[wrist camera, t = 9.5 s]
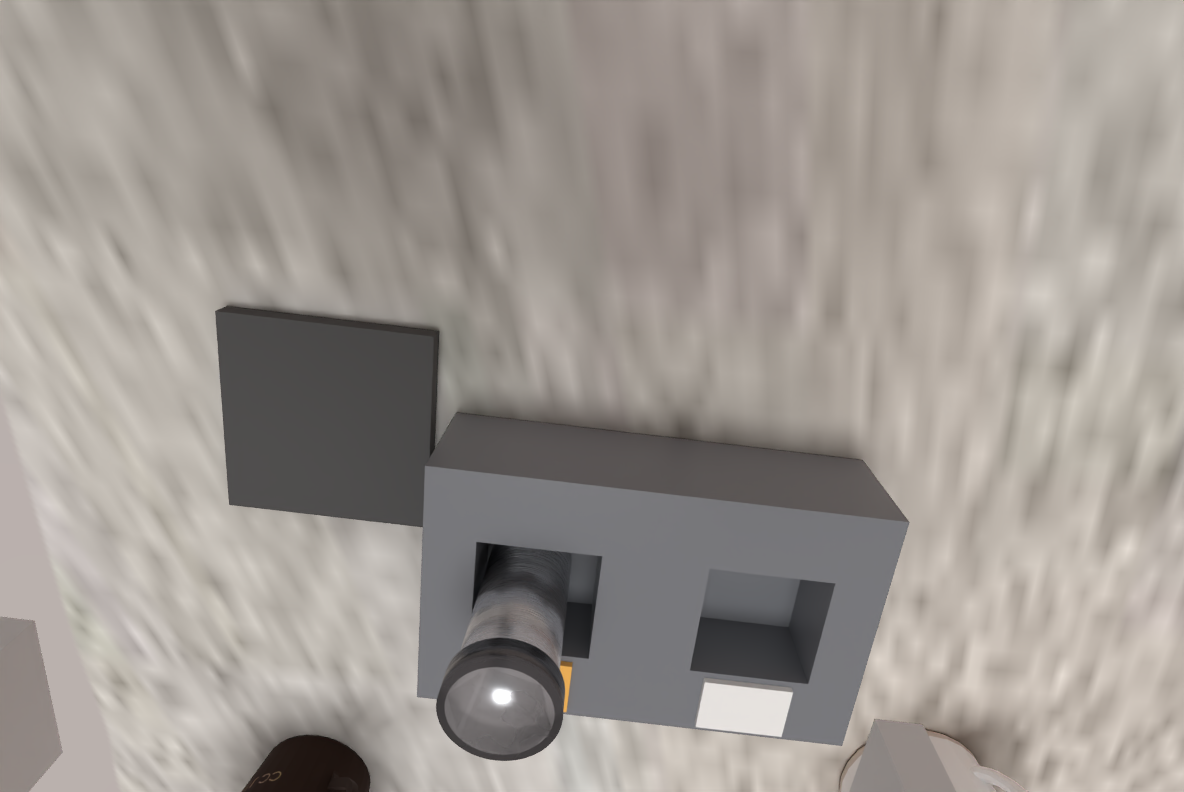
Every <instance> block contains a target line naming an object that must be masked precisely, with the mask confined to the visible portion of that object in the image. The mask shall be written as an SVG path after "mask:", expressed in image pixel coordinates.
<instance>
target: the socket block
mask: <svg viewBox="0 0 1184 792" xmlns="http://www.w3.org/2000/svg"><path fill="white" fill-rule="evenodd" d="M908 525H909V521H908V520H907V518H906V517H905V516H904V514H903V513H902V512H901V510H900V509H899V508H898V506H897V505H896V504H895V502H894V501H893V500H892V498H891V497H890V496H889V494H888V493H887V492H886V490H885V489H884V488H883V486H882V485H881V484H880V482H879V481H878V480H877V478H876V477H875V476H874V474H873V473H872V472H871V470H870V469H869V468H868V466H867V465H866V464H865V462H864V461H863V460H858V459H849V458H841V457H832V456H824V455H815V454H806V453H798V452H789V451H781V450H772V449H764V448H755V447H747V446H738V445H729V444H721V443H712V442H704V441H695V440H687V439H678V438H670V437H661V436H653V435H644V434H635V433H627V432H618V431H610V430H601V429H593V428H584V427H576V426H567V425H558V424H550V423H541V422H533V421H524V420H516V419H507V418H499V417H490V416H481V415H473V414H464V413H456V414H455V416H454V417H453V419H452V421H451V422H450V424H449V426H448V428H447V429H446V431H445V433H444V434H443V436H442V438H441V439H440V441H439V443H438V445H437V446H436V448H435V450H434V451H433V453H432V455H431V456H430V458H429V460H428V462H427V463H426V465H425V481H424V510H423V539H422V568H421V597H420V627H419V656H418V685H417V697H422V698H431V699H437V697H438V694H439V691H440V688H441V684H442V681H443V678H444V675H445V672H446V669H447V667H448V665H449V663H450V661H451V660H452V659H453V657H454V656H455V655H456V654H457V653H458V652H459V651H461V648H462V644H463V641H464V638H465V635H466V631H467V628H468V625H469V622H470V618H471V615H472V612H473V609H474V605H475V602H476V599H477V596H478V592H479V589H480V586H481V583H482V580H483V576H484V573H485V570H486V567H487V563H488V560H489V557H490V554H491V550H492V547H493V544H499V545H508V546H517V547H525V548H534V549H542V550H551V551H560V552H568V553H571V556H572V565H571V574H570V583H569V592H568V601H567V610H566V619H565V628H564V637H563V646H562V655H561V664H560V671H561V673H562V676H563V679H564V683H565V700H564V710H563V714H569V715H578V716H587V717H596V718H604V719H613V720H622V721H630V722H639V723H648V724H656V725H665V726H674V727H682V728H691V729H700V730H708V731H717V732H726V733H734V734H743V735H752V736H760V737H769V738H778V739H787V740H795V741H804V742H813V743H821V744H830V745H839V746H842V744H843V741H844V737H845V734H846V731H847V728H848V724H849V721H850V718H851V714H852V711H853V708H854V704H855V701H856V698H857V694H858V691H859V688H860V684H861V681H862V678H863V674H864V671H865V668H866V664H867V661H868V658H869V654H870V651H871V648H872V645H873V641H874V638H875V635H876V631H877V628H878V625H879V621H880V618H881V615H882V611H883V608H884V605H885V601H886V598H887V595H888V591H889V588H890V585H891V581H892V578H893V575H894V572H895V568H896V565H897V562H898V558H899V555H900V552H901V548H902V545H903V542H904V538H905V535H906V532H907V528H908Z"/></svg>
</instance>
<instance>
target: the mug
mask: <svg viewBox="0 0 1184 792" xmlns="http://www.w3.org/2000/svg"><path fill="white" fill-rule="evenodd" d="M926 732H927V734H928V736H929V738H930V740H931V742H932V744H933V746H934V748H935V750H936V752H937V754H938V756H939V758H940V760H941V762H942V764H943V766H944V768H945V770H946V772H947V774H948V776H949V778H950V780H951V782H952V784H953V786H954V788H955V790H956V792H996V790H995V789H994V787H993V786H992V784H993V785H996V786H998V787H1000V788H1001V789H1003V790H1004V791H1006V792H1028V791H1027V790H1026V789H1025V788H1023V787H1022V786H1021V785H1020V784H1018V783H1017V782H1016V781H1014V780H1013V779H1011V778H1009V777H1007V776H1006V775H1004V774H1002V773H1000V772H999V771H997V770H994V769H991V768H987V767H983V766H980V765H979V764H978V762H977V761H976V759H975V757H974V756H973V754H972V753H971V752H970V751H969V750H968V749H967V748H966V747H965V746H963V745H962V744H961V743H960V742H958V741H956V740H954V739H952V738H950V737H948V736H946V735H944V734H941V733H937V732H932V731H927V730H926ZM864 748H865V746H863V747H862V748H860V749H859V750H858V751H857V752H856V753H855V754H854V755H853V756H852V757H851V759H850V760H849V761H848V762H847V764H846V767H845V769H844V771H843V773H842V775H841V780H840V789H839V792H849V791H850V788H851V785H852V782H853V779H854V777H855V774H856V771H857V768H858V765H859V762H860V759H861V757H862V754H863V751H864Z"/></svg>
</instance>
